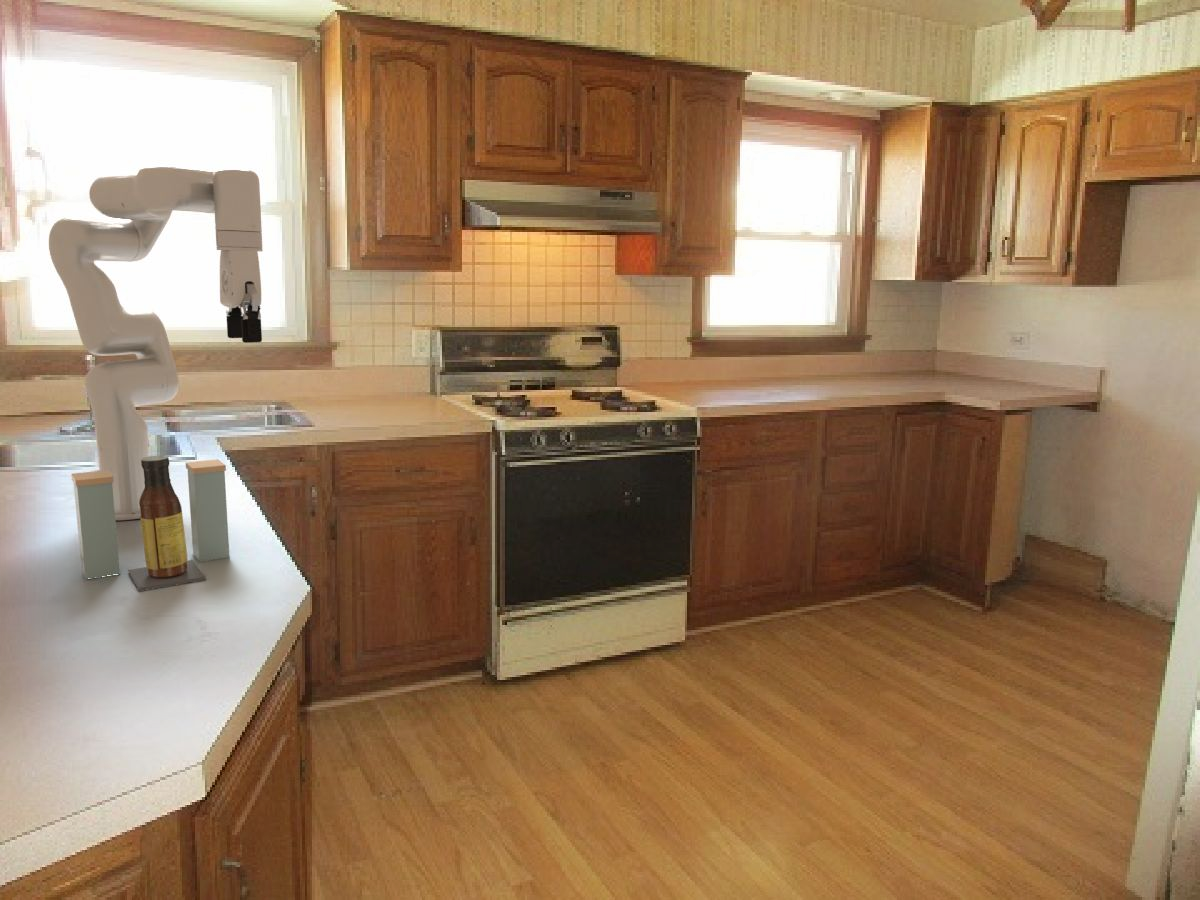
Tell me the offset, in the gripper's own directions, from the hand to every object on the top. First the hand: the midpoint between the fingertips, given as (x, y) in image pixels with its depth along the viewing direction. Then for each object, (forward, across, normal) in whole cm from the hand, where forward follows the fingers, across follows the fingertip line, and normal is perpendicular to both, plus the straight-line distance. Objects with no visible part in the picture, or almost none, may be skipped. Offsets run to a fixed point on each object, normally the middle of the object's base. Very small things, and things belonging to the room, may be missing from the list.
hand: (244, 340), depth 158 cm
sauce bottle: (+38, +10, -17) cm, 43 cm away
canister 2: (+38, +3, -8) cm, 39 cm away
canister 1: (+38, +3, -26) cm, 46 cm away
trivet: (+38, +10, -17) cm, 43 cm away
